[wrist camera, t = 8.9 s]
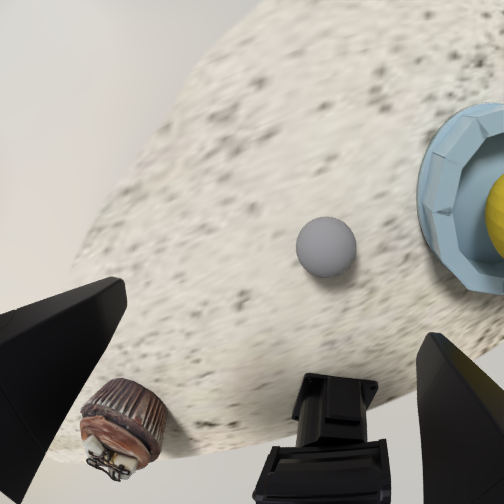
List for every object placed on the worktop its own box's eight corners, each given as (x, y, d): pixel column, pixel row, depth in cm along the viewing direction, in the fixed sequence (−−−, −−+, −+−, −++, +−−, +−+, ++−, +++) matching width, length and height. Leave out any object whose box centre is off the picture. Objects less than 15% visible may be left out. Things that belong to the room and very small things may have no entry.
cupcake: (101, 358, 30) (51, 425, 21) (183, 399, 30) (147, 479, 21) (100, 402, 34) (63, 459, 26) (169, 436, 34) (140, 500, 25)
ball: (347, 264, 20) (351, 293, 17) (294, 256, 21) (289, 283, 18) (358, 214, 19) (365, 235, 16) (302, 204, 19) (298, 224, 16)
